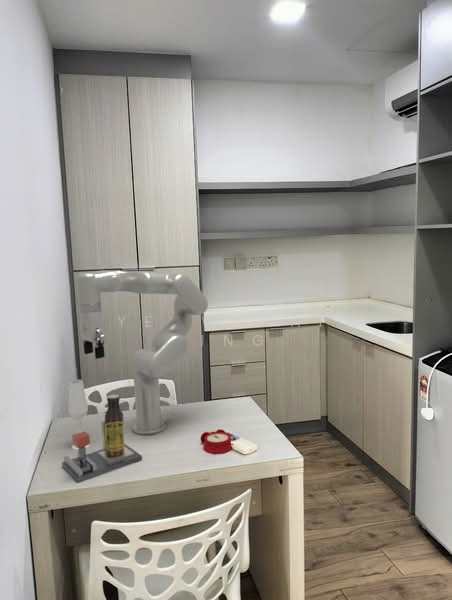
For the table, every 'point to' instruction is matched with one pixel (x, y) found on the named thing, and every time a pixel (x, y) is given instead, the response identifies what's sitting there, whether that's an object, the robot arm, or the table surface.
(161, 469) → the table surface
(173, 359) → the robot arm
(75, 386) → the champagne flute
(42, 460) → the table surface
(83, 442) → the press lever
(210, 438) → the alarm clock
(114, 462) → the base
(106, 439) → the sauce bottle
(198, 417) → the table surface
